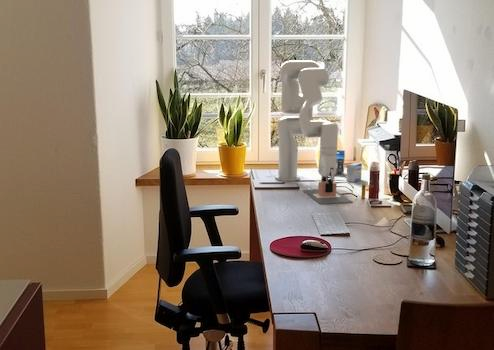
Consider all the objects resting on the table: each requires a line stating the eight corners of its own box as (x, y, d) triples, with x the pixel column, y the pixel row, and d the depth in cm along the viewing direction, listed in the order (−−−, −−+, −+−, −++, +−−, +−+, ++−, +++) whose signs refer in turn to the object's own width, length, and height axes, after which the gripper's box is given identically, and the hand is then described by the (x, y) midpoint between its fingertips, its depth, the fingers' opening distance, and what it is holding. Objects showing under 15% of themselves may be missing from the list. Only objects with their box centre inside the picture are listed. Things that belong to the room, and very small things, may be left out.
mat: (302, 191, 269) (302, 189, 268) (332, 189, 272) (332, 188, 272) (319, 204, 246) (319, 203, 246) (352, 202, 249) (352, 201, 249)
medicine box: (354, 182, 286) (355, 165, 285) (346, 181, 289) (347, 164, 287) (361, 179, 293) (362, 163, 291) (353, 178, 295) (354, 162, 293)
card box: (332, 193, 261) (333, 180, 260) (335, 196, 258) (336, 183, 256) (318, 194, 260) (318, 181, 258) (321, 196, 256) (321, 183, 254)
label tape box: (326, 173, 307) (327, 150, 304) (327, 171, 310) (328, 149, 308) (342, 174, 304) (344, 151, 301) (343, 173, 308) (345, 150, 305)
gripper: (314, 147, 261) (312, 186, 265) (327, 154, 245) (325, 195, 249) (329, 147, 263) (328, 185, 267) (343, 154, 247) (341, 195, 251)
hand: (326, 190), depth 258 cm, fingers open, 4 cm apart
